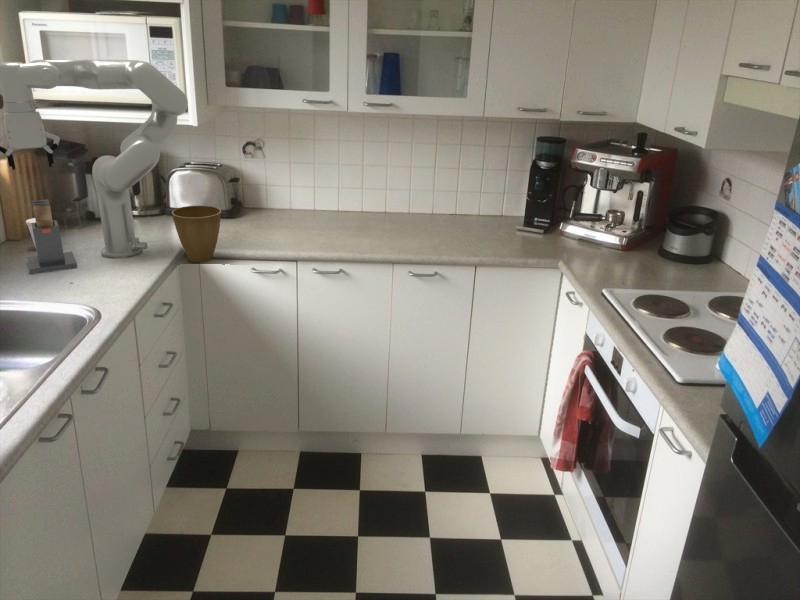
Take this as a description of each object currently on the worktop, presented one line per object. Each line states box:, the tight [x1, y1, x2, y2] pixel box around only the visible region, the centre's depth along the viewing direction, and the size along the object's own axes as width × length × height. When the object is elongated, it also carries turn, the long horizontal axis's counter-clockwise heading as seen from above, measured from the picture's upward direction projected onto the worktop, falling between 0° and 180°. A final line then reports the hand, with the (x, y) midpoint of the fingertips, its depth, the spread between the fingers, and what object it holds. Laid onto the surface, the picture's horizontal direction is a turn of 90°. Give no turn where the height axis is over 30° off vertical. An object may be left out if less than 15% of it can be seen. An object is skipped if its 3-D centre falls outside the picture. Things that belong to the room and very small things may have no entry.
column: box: [31, 199, 54, 227], centre depth 201 cm, size 4×4×18 cm
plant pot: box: [171, 205, 222, 263], centre depth 211 cm, size 15×15×16 cm
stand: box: [26, 219, 78, 275], centre depth 203 cm, size 13×13×13 cm
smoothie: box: [25, 217, 36, 249], centre depth 217 cm, size 6×6×14 cm
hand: (32, 167), depth 194 cm, fingers open, 9 cm apart
